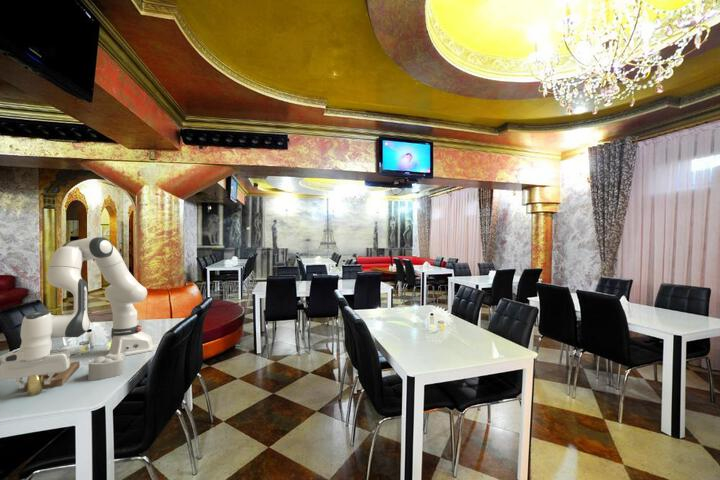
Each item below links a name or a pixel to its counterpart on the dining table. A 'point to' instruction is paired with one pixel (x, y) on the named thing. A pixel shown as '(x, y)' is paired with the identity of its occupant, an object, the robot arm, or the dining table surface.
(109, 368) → the lumpy-topped squat cylinder
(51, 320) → the robot arm
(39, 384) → the bushing
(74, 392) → the dining table surface
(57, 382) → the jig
